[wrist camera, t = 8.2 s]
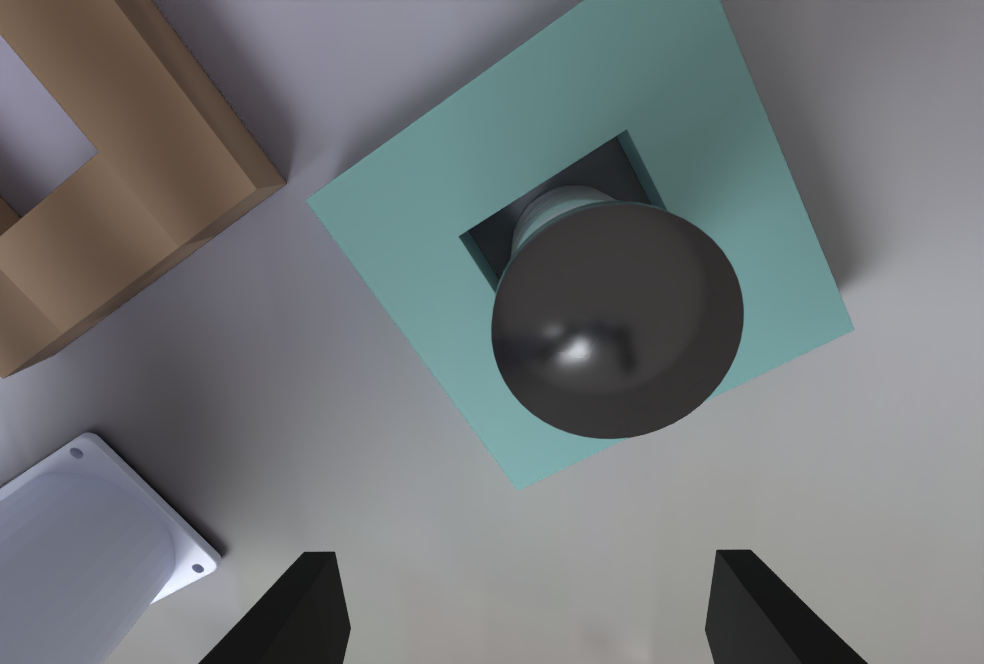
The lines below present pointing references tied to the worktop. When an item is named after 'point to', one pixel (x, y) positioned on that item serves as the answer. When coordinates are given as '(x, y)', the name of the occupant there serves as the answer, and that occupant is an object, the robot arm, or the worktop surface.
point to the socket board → (550, 149)
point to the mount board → (117, 170)
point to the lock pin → (613, 314)
